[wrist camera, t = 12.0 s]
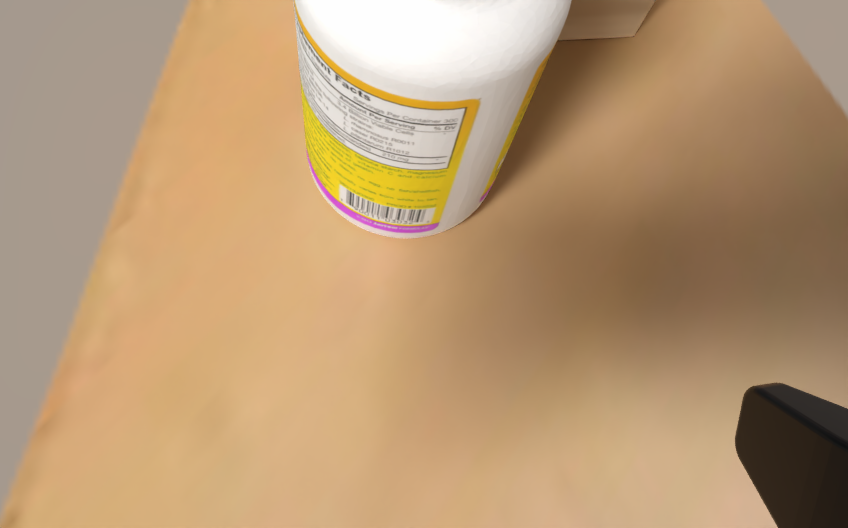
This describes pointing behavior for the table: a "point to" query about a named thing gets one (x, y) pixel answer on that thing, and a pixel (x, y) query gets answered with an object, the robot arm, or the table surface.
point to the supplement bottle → (417, 102)
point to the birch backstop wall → (604, 18)
